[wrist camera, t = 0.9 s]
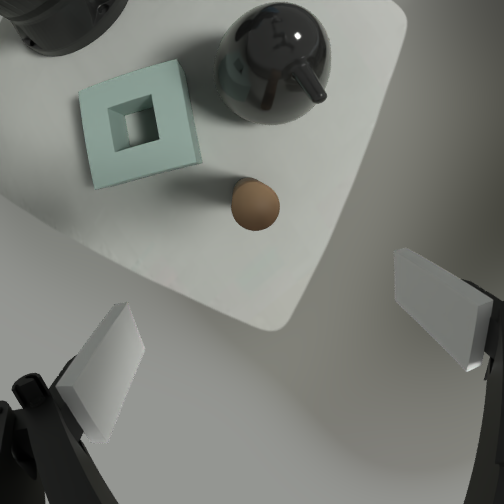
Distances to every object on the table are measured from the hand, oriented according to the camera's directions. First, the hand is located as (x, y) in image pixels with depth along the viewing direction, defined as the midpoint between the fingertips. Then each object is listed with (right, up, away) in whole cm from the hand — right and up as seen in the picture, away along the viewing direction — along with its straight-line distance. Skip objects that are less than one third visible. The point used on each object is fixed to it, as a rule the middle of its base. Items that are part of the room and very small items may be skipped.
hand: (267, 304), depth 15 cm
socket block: (-12, +15, +16) cm, 25 cm away
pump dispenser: (+1, +20, +15) cm, 25 cm away
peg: (-1, +8, +18) cm, 20 cm away
